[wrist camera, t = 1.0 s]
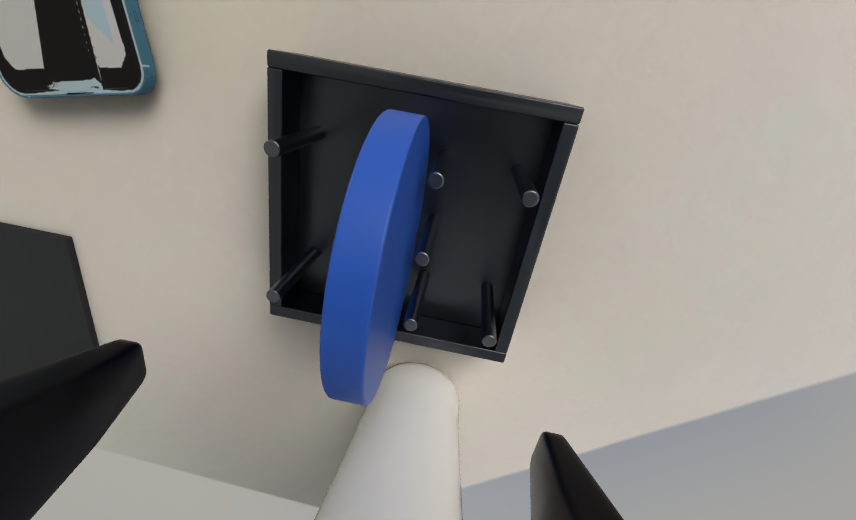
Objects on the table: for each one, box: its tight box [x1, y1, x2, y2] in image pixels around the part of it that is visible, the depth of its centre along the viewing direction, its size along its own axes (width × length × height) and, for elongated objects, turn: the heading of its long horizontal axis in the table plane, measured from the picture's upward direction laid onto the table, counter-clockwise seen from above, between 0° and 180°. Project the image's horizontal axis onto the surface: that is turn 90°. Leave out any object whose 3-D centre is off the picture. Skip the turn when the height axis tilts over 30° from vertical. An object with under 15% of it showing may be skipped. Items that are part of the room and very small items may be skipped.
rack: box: [264, 49, 584, 362], centre depth 17 cm, size 12×12×5 cm
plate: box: [320, 109, 430, 406], centre depth 14 cm, size 1×10×10 cm, turn 170°
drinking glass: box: [314, 363, 463, 520], centre depth 17 cm, size 7×7×15 cm
